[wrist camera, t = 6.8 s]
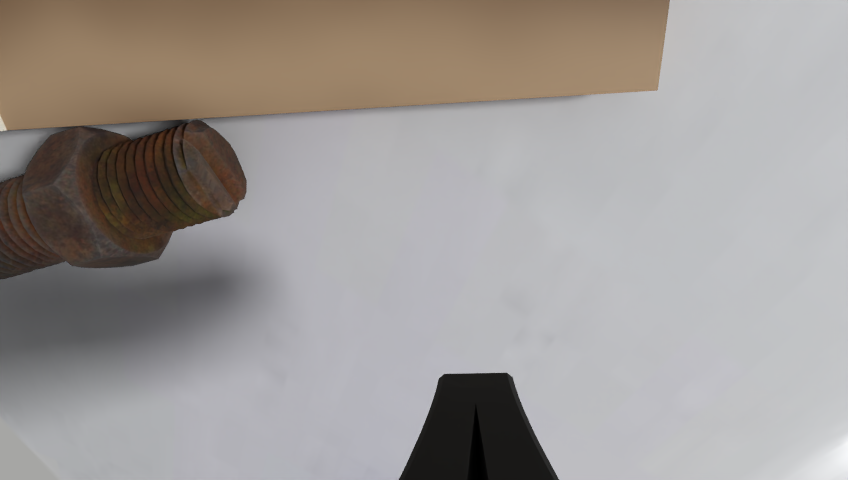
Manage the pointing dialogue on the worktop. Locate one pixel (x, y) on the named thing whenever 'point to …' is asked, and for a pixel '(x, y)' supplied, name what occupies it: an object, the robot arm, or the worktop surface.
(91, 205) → the bolt
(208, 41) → the walnut board
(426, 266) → the worktop surface
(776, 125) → the worktop surface
